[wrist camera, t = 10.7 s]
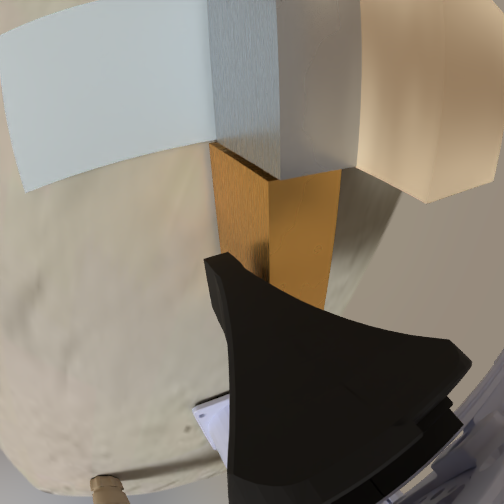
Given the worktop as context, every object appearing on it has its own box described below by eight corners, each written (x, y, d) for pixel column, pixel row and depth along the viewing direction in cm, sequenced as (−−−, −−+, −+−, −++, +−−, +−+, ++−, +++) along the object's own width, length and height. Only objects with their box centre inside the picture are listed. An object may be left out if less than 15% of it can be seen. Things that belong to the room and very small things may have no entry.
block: (358, 125, 11) (493, 181, 6) (271, 132, 9) (426, 204, 5) (359, 9, 8) (507, 17, 3) (265, -10, 6) (434, -51, 2)
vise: (376, 120, 12) (465, 152, 8) (31, 184, 7) (-18, 269, 4) (378, 19, 9) (474, 26, 5) (6, 39, 4) (-70, 14, 1)
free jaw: (267, 276, 13) (325, 346, 10) (225, 290, 13) (276, 370, 9) (258, -7, 7) (356, -41, 3) (198, -9, 6) (271, -65, 3)
